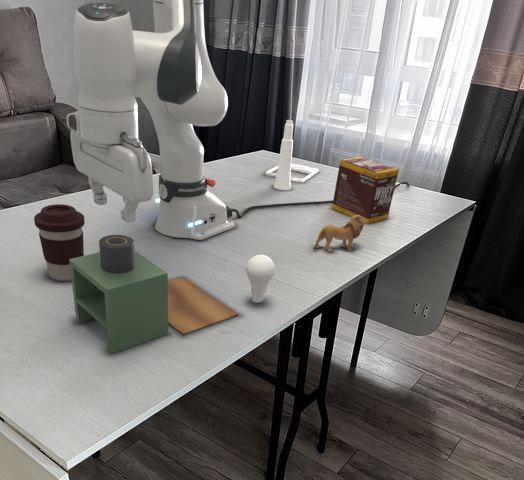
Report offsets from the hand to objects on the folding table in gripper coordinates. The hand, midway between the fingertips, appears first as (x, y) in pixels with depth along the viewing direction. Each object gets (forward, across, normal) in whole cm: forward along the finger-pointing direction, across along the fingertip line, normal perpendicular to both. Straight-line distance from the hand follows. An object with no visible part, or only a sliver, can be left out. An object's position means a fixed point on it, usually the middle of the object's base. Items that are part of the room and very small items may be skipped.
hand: (114, 212), depth 92 cm
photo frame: (+22, +61, -107) cm, 125 cm away
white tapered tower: (+22, +50, -91) cm, 107 cm away
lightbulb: (+23, -7, -29) cm, 38 cm away
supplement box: (+22, +19, -96) cm, 101 cm away
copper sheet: (+23, +1, -15) cm, 28 cm away
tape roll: (+10, 0, 0) cm, 10 cm away
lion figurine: (+23, +4, -68) cm, 72 cm away
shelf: (+23, 0, 0) cm, 23 cm away
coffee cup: (+23, +26, -1) cm, 35 cm away
